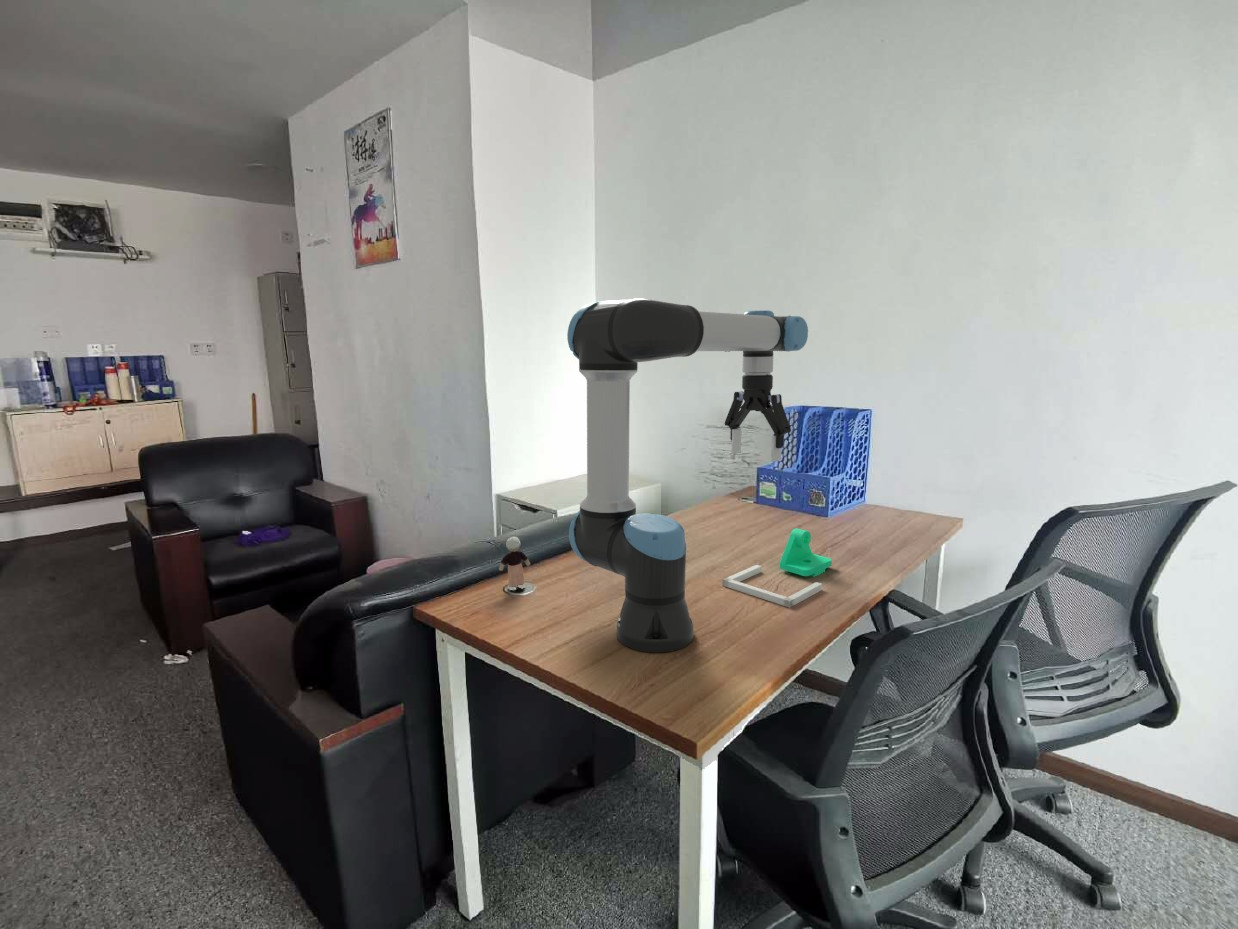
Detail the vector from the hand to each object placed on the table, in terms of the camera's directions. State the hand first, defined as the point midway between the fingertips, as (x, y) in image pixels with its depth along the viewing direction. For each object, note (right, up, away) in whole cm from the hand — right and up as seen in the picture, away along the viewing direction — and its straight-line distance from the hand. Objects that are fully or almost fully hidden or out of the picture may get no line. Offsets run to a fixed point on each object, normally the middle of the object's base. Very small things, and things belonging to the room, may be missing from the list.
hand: (755, 457), depth 162 cm
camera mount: (+12, -29, -4) cm, 32 cm away
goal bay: (+1, -31, -15) cm, 34 cm away
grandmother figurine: (-60, -31, -13) cm, 69 cm away
